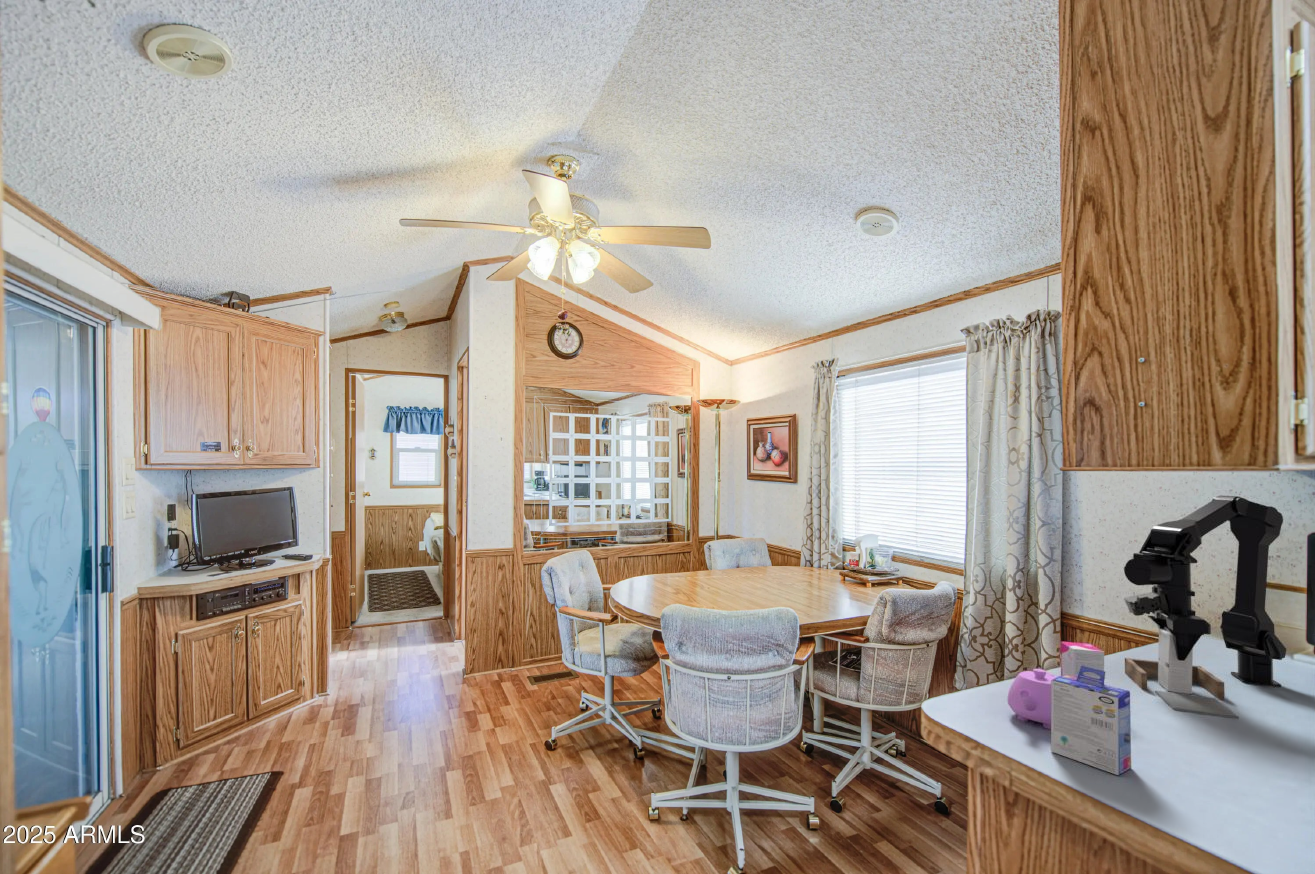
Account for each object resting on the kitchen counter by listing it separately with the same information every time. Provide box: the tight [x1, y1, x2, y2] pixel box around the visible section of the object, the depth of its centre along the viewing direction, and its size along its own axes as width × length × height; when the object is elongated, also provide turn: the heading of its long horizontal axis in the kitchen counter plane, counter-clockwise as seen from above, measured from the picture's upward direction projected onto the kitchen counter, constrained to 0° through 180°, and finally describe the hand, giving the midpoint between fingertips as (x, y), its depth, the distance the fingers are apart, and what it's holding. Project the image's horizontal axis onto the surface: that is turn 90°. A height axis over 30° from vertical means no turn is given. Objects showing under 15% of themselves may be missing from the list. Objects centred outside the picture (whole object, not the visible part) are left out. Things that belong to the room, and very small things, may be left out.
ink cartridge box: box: [1050, 666, 1132, 776], centre depth 99 cm, size 10×6×14 cm, turn 36°
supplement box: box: [1060, 641, 1105, 679], centre depth 123 cm, size 6×6×12 cm
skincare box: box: [1157, 628, 1194, 695], centre depth 132 cm, size 6×4×12 cm
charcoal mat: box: [1154, 690, 1240, 719], centre depth 123 cm, size 10×10×1 cm
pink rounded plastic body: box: [1007, 668, 1058, 730], centre depth 114 cm, size 10×15×9 cm
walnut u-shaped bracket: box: [1124, 657, 1226, 701], centre depth 133 cm, size 11×14×4 cm
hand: (1175, 655), depth 132 cm, fingers closed on skincare box, 6 cm apart
